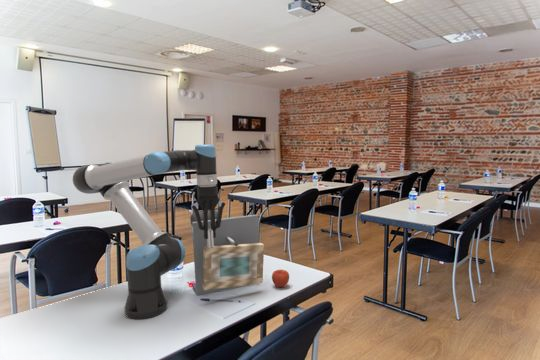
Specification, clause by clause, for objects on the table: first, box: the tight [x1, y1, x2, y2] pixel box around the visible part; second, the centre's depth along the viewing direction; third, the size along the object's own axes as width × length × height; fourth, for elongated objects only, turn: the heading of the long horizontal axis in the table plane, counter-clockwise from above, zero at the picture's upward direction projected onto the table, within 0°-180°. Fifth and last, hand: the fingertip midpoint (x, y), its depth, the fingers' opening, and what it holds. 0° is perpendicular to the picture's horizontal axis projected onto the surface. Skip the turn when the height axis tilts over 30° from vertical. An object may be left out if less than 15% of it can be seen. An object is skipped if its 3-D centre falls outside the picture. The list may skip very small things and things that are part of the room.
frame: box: [203, 242, 265, 290], centre depth 144 cm, size 24×4×18 cm, turn 114°
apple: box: [271, 269, 290, 288], centre depth 155 cm, size 7×7×8 cm
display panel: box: [191, 214, 260, 296], centre depth 153 cm, size 28×15×30 cm, turn 114°
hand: (210, 246), depth 140 cm, fingers closed
